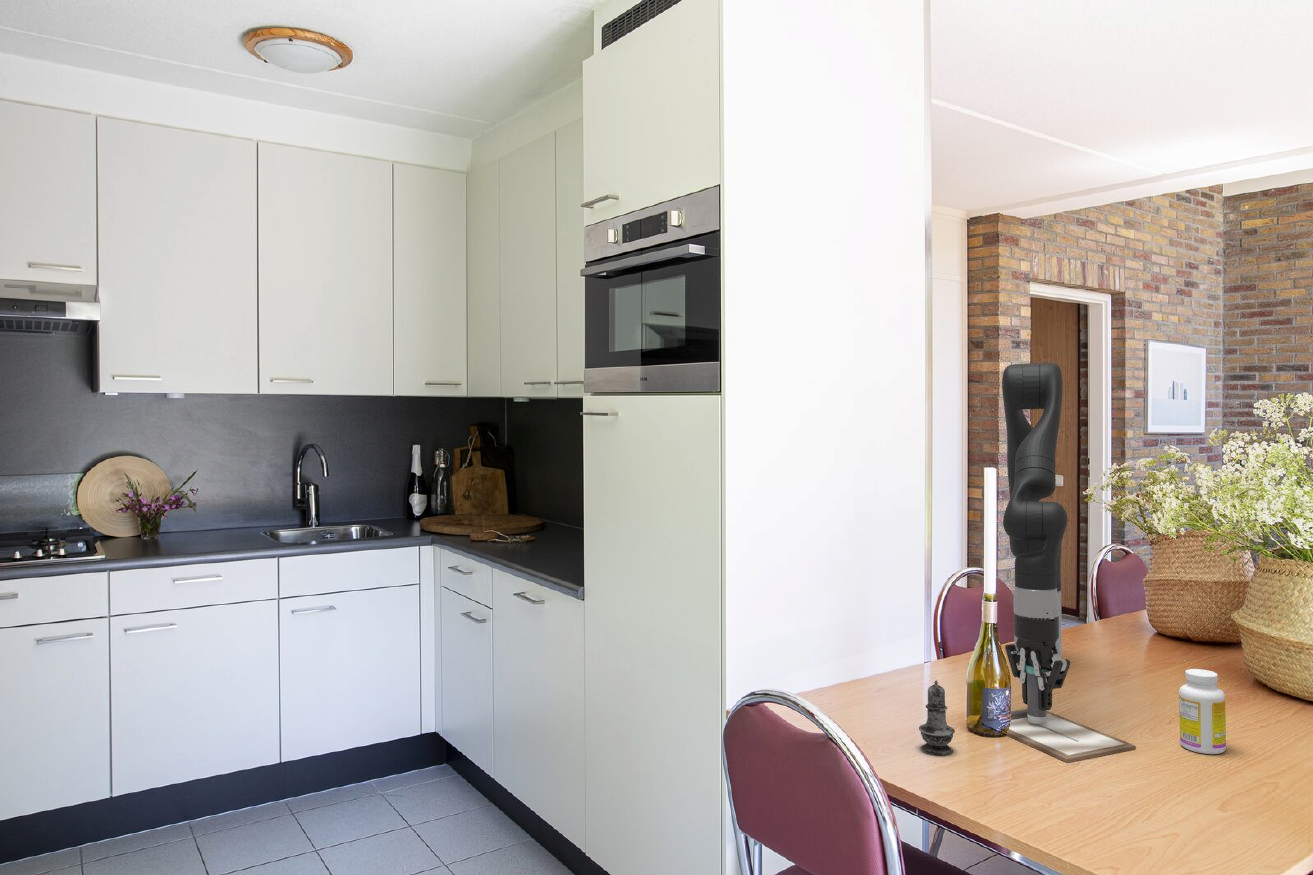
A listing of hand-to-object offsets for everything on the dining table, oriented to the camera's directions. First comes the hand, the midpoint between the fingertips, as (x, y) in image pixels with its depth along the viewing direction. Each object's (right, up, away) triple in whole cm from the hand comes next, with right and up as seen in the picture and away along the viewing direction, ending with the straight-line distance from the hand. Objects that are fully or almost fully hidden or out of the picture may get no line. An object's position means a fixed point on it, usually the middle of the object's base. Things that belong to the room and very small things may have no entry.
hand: (1037, 706), depth 161 cm
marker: (0, -3, 0) cm, 3 cm away
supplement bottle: (+23, -4, -11) cm, 26 cm away
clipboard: (+2, -4, -4) cm, 6 cm away
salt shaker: (-21, -5, -9) cm, 23 cm away
